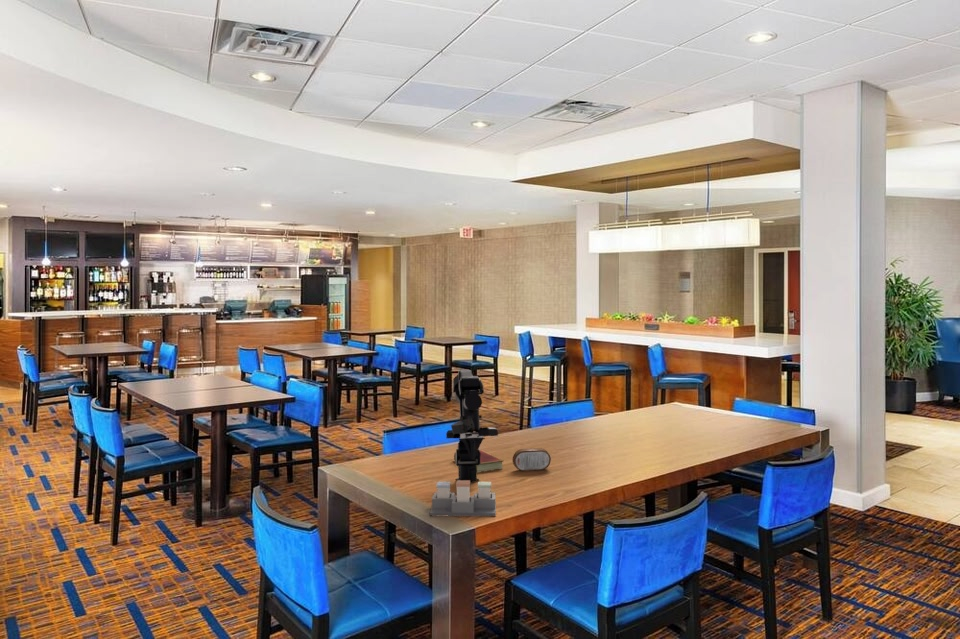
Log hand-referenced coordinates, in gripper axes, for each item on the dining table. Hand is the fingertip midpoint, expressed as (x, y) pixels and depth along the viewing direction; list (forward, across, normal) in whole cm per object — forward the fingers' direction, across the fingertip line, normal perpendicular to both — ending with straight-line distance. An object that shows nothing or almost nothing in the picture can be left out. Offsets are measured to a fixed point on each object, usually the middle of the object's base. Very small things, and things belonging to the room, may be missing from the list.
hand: (472, 458), depth 223 cm
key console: (+16, +4, -11) cm, 20 cm away
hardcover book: (+3, -26, +35) cm, 44 cm away
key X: (+14, +6, -13) cm, 20 cm away
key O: (+15, +9, -5) cm, 18 cm away
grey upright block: (+14, -2, -13) cm, 19 cm away
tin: (+5, -4, +42) cm, 42 cm away
